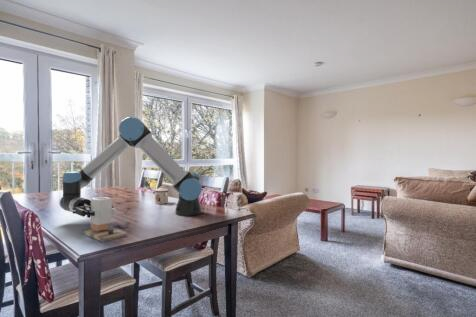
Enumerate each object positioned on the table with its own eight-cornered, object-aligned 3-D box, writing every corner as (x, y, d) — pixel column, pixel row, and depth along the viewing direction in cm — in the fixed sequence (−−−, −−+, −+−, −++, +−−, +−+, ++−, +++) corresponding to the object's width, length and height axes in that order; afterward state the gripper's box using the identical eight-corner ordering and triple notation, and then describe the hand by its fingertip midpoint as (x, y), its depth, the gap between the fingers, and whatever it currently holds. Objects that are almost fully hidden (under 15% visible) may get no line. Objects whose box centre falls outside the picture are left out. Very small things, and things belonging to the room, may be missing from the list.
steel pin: (114, 232, 115) (114, 223, 115) (112, 234, 113) (112, 224, 113) (109, 232, 115) (109, 223, 115) (107, 234, 113) (107, 224, 113)
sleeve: (111, 227, 119) (111, 198, 119) (97, 231, 115) (98, 200, 114) (104, 225, 123) (104, 196, 123) (90, 228, 118) (90, 198, 118)
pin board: (126, 235, 117) (126, 232, 116) (103, 241, 108) (103, 238, 108) (106, 229, 126) (106, 225, 126) (83, 234, 118) (83, 230, 118)
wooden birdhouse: (152, 202, 189) (152, 186, 189) (164, 201, 196) (164, 185, 195) (161, 205, 181) (161, 187, 180) (173, 203, 187) (173, 186, 187)
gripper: (101, 210, 137) (128, 218, 123) (58, 217, 121) (84, 227, 108) (101, 195, 137) (128, 201, 123) (58, 201, 121) (84, 208, 108)
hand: (107, 213), depth 116 cm, fingers closed on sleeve, 6 cm apart
